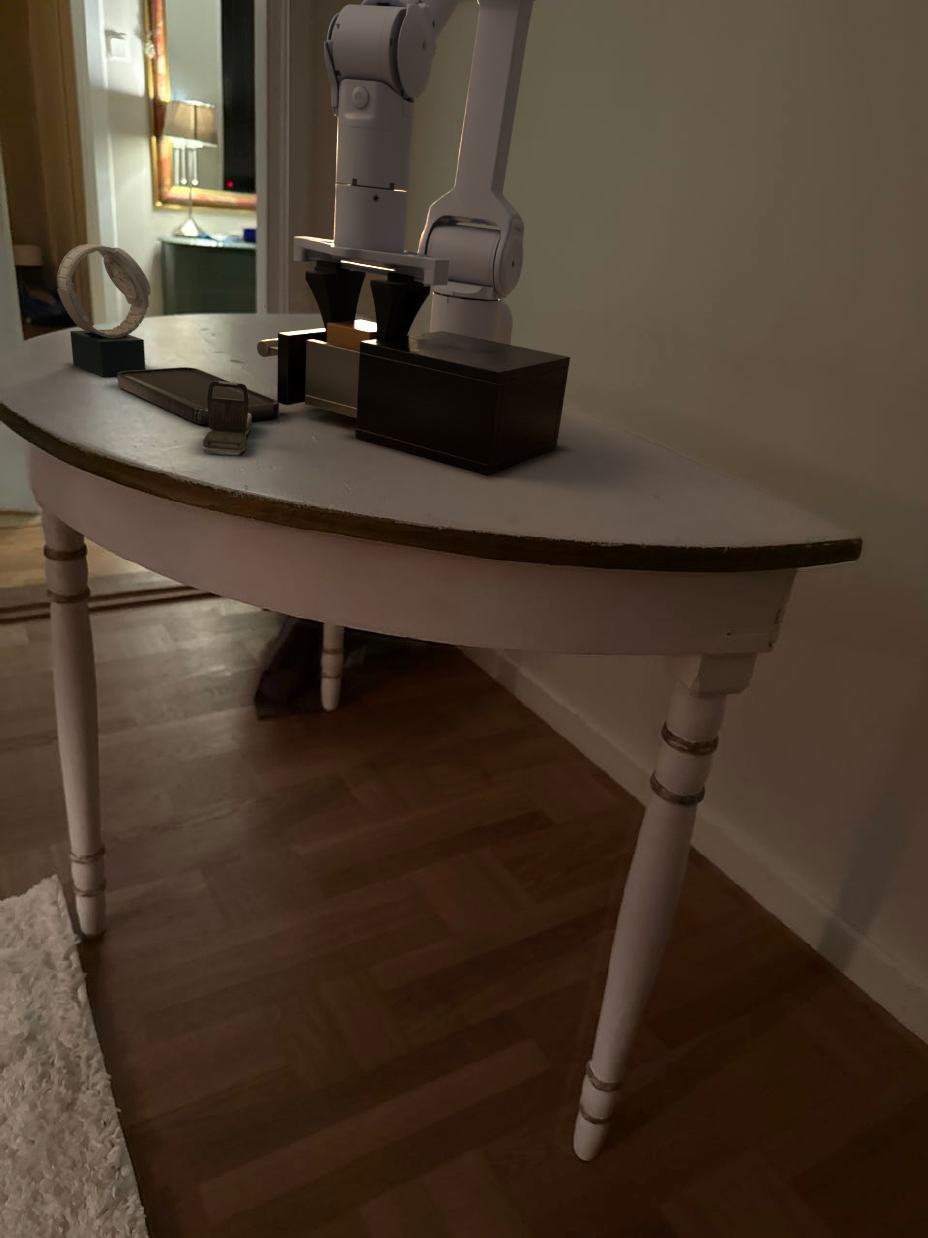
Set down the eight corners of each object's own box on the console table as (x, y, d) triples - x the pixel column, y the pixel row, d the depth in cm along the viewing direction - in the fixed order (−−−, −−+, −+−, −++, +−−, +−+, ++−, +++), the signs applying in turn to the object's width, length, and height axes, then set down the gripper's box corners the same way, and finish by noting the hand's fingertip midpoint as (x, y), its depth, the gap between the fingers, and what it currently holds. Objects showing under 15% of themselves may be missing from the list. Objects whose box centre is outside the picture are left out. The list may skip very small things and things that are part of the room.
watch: (164, 371, 85) (158, 250, 80) (84, 378, 80) (73, 247, 75) (133, 360, 88) (126, 242, 84) (54, 365, 83) (42, 239, 78)
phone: (201, 412, 69) (112, 371, 78) (201, 426, 69) (113, 384, 78) (285, 403, 74) (193, 366, 83) (285, 416, 74) (193, 378, 83)
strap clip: (214, 419, 71) (213, 366, 69) (252, 422, 71) (253, 369, 69) (200, 452, 63) (199, 394, 61) (243, 456, 64) (244, 397, 62)
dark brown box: (355, 437, 71) (359, 341, 68) (434, 416, 80) (442, 330, 77) (487, 475, 66) (499, 372, 62) (556, 448, 75) (570, 356, 71)
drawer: (238, 392, 77) (237, 323, 75) (316, 378, 85) (318, 316, 83) (384, 432, 70) (388, 358, 68) (454, 413, 78) (460, 346, 76)
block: (358, 371, 79) (360, 319, 77) (398, 381, 77) (402, 328, 75) (325, 377, 75) (327, 322, 73) (366, 387, 73) (369, 331, 71)
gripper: (268, 175, 69) (267, 351, 75) (418, 193, 63) (404, 384, 69) (326, 181, 75) (321, 344, 81) (469, 198, 69) (452, 374, 75)
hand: (363, 362), depth 75 cm, fingers closed on block, 4 cm apart
